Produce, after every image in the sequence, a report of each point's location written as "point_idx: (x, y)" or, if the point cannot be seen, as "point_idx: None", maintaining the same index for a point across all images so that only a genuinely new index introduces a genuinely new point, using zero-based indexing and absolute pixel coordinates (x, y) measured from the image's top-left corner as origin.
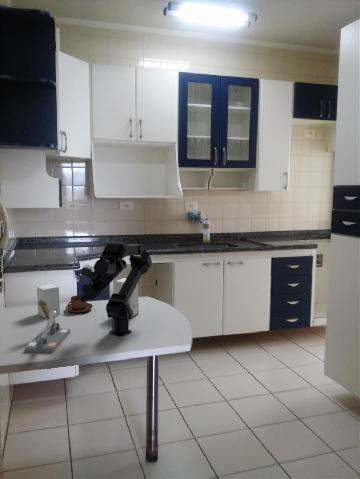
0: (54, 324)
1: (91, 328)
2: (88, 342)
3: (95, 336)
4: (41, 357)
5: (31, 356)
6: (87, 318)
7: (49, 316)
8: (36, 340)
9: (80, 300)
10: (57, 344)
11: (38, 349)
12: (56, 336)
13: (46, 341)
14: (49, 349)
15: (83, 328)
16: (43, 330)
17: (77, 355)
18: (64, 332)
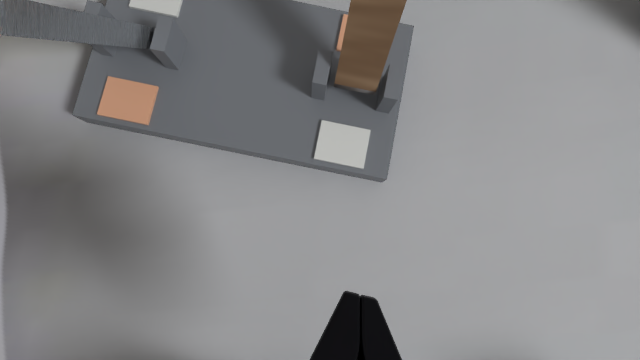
0: (353, 70)
1: (438, 311)
2: (201, 309)
3: (294, 347)
4: (37, 71)
5: None
6: (629, 269)
7: (354, 3)
8: (215, 7)
9: (343, 295)
10: (147, 131)
11: None
12: (261, 110)
13: (163, 63)
14: (81, 96)
15: (442, 258)
16: None
17: (17, 259)
18: (314, 150)
